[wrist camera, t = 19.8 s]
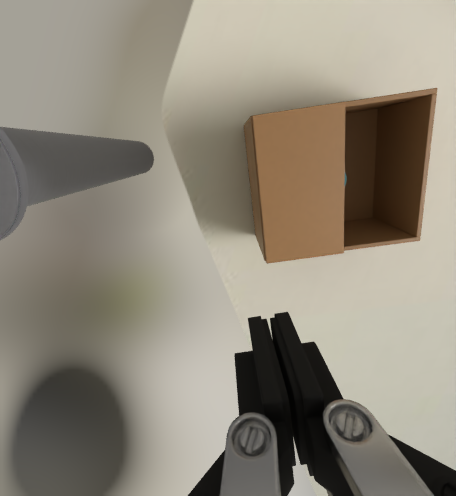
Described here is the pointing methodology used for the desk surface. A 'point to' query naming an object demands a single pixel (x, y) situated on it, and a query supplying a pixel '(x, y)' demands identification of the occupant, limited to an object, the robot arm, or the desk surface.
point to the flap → (301, 181)
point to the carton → (375, 169)
